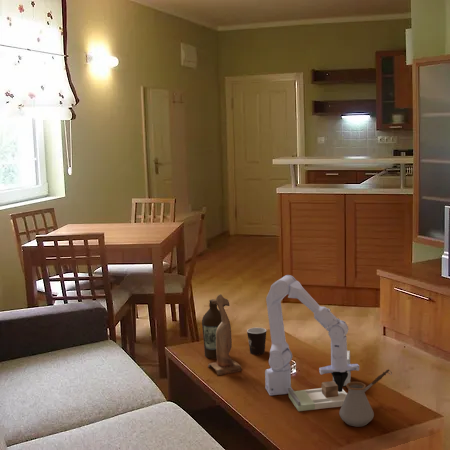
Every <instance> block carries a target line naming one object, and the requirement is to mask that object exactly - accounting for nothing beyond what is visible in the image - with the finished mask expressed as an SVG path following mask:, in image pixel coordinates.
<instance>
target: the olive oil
mask: <svg viewBox="0 0 450 450" xmlns="http://www.w3.org/2000/svg"><path fill="white" fill-rule="evenodd" d="M208 305H209V308H208V310H207V311H206V312H205V314H203V316H202V319H201V325H202V326H201V327H202V329H201V330H202V335H203V337H202V338H203V348H204V351H203V352H204V356H205V358H208V359H210V360H211V359H212V360H215V359H216V360H217V355H216V354H217V353H216V331H217V328H218V326H219V325H220V323H221V322H222V318H221V314H220V311H219V308H218V305H217V303H216V298H215V299H209V303H208Z"/></svg>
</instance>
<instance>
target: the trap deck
mask: <svg viewBox="0 0 450 450" xmlns="http://www.w3.org/2000/svg"><path fill="white" fill-rule="evenodd" d="M291 388H292V387H291ZM291 388H288V393H289V394H288V398H289V400H290V401H291V403H292V404H293V405H294V408H296V410H297V411H298V412H303V411H313V410H320V409H328V408H329V409H330V408H341V407H342V405H343V402H344V400H345V398H346V395H347V393H348V392H346V391H345V390H344V388H343V389H342V392H338V396H336V397H328V398H326V397H325V396H324V395H323V394H322V387H319V388H311V389H309V388H308V389H300V390H293V391H292V389H293V388H292V389H291Z"/></svg>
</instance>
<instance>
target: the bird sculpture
mask: <svg viewBox="0 0 450 450" xmlns="http://www.w3.org/2000/svg"><path fill="white" fill-rule="evenodd" d="M215 300H216V303H217V309H218V310H219V311H220V314H221V318H222V322H221V323H220V325H219V326H218V328H217V331H216V353H217V354H216V355H217V359H216V361H215V362H209V363H208V364H207V368H213V369H214V370H215V372H216V374H217V376H221V375H222V376H223V375H228V374H232V373H233V374H234V373H238V372H241V371H242V365H241V364H239V363H238V362H237V361H235V360H234V359H233V358H231V356H230V354H229V353H230V352H231V350H232V348H233V347H232V345H233V343H232V342H233V341H232V339H233V338H232V326H231V322H230V319H229V317H228V314H227V312H226V309H225V307H230V301H229V300H228V298H225V297H224V296H223V295H222V294H218V295H217V296H216V298H215Z"/></svg>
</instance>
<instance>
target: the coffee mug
mask: <svg viewBox="0 0 450 450" xmlns="http://www.w3.org/2000/svg"><path fill="white" fill-rule="evenodd" d="M246 333H247V339H248V340H247V341H248V348H249V352H250V354H252V355H256V356H258V355H264V354H265V353H266V341H267V339H266V338H267V329H266V328H264V327H251V328H248V329H247V330H246Z"/></svg>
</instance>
